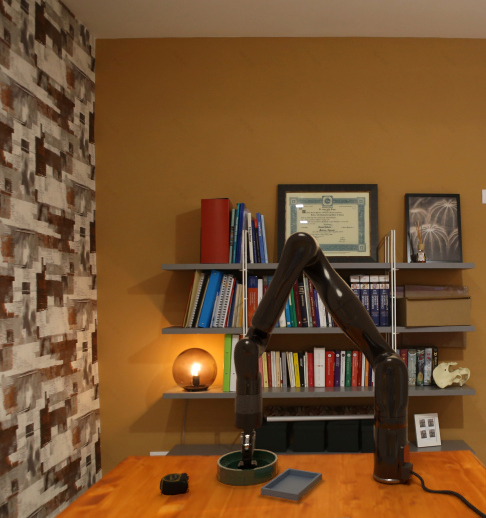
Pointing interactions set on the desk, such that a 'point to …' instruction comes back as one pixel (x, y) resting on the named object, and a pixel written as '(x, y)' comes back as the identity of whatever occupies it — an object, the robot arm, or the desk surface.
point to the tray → (291, 484)
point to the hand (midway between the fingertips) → (247, 472)
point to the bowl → (261, 474)
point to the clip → (254, 465)
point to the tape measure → (174, 483)
